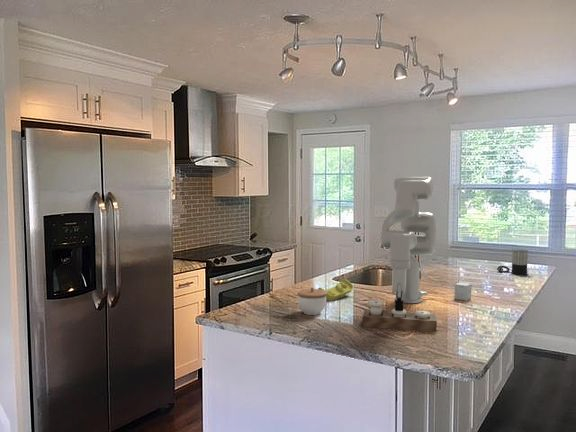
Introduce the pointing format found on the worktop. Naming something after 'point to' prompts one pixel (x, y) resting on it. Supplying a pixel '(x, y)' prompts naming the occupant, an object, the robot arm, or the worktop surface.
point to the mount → (399, 321)
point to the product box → (463, 291)
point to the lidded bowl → (312, 301)
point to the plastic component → (338, 290)
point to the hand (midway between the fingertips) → (399, 310)
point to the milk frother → (517, 262)
